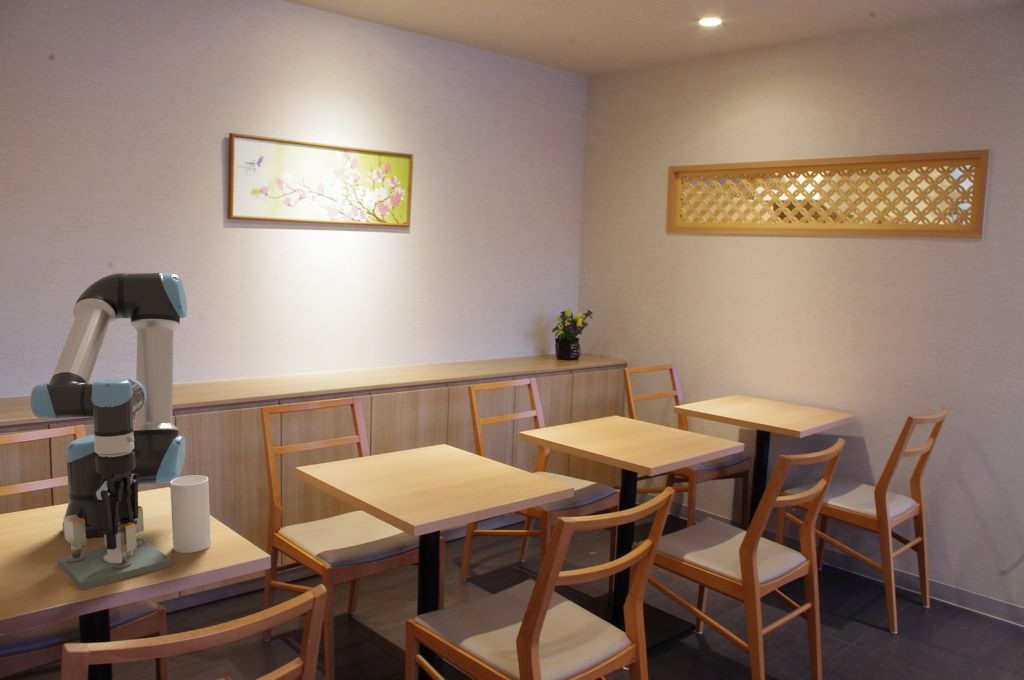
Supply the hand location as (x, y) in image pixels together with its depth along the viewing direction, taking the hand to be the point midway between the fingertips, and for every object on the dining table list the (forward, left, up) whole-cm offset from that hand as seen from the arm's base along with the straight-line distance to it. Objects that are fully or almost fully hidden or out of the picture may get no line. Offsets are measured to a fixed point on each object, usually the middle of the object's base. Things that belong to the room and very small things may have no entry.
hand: (120, 558), depth 171 cm
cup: (-4, +17, -3) cm, 18 cm away
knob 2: (-10, +6, -2) cm, 12 cm away
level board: (-5, 0, -3) cm, 6 cm away
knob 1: (0, 0, -2) cm, 2 cm away
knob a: (-10, -6, -2) cm, 12 cm away
